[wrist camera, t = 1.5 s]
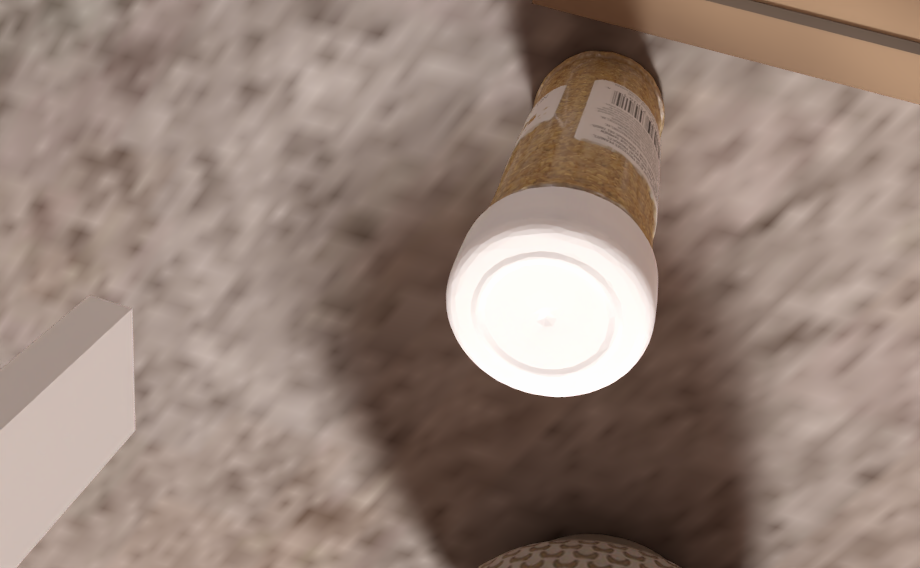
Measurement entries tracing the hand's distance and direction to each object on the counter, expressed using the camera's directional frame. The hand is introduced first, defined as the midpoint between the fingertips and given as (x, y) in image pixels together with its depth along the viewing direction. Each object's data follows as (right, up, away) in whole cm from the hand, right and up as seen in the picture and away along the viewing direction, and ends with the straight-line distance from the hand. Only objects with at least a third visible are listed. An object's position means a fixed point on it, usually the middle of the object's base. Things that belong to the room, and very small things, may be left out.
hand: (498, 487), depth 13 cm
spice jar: (+4, +9, +15) cm, 19 cm away
